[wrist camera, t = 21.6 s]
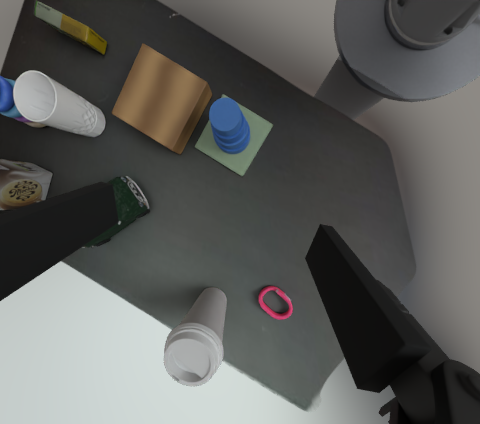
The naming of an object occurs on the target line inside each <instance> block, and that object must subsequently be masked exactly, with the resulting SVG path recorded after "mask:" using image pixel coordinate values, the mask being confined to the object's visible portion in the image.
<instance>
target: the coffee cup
mask: <svg viewBox="0 0 480 424" xmlns="http://www.w3.org/2000/svg"><path fill="white" fill-rule="evenodd" d="M226 305H227V298H226V295H225V294H224V292H223V291H222V290H220V289H218V288H215V287H210V288H207V289H205V290H204V291H203V292H202V293H201V294H200V296H199V297H198V299H197V300H196V302H195V303H194V304H193V306H192V307H191V309H190V310H189V312H188V313H187V314H186V316H185V317H184V319H183V320H182V321H181V323H180V324H179V326H177V327H175V328H174V329H173V330H172V331H171V332H170V334H169V335H168V337H167V340H166V344H165V349H164V365H165V368H166V370H167V372H168V374H169V375H170V376H171V377H172V378H173V379H174V380H176V381H177V382H178V383H180V384H183V385H186V386H199V385H202V384H204V383H206V382H207V381H209V380H210V379H211V377H212V376H213V375H214V374H215V372H216V371H217V370H218V368H219V366H220V365H221V362H222V360H223V353H224V352H223V346H222V338H223V329H224V321H225V313H226Z"/></svg>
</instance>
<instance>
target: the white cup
mask: <svg viewBox="0 0 480 424" xmlns="http://www.w3.org/2000/svg"><path fill="white" fill-rule="evenodd" d="M13 98H14V103H15V105H16V108H17V109H18V111H19V112H20V113H21V115H22V116H24V117H25V118H26V119H28V120H30V121H33V122H37V123H40V124H44V125H47V126H51V127H54V128H58V129H61V130H64V131H68V132H72V133H76V134H81V135H84V136H87V137H96V136H98V135H100V134H101V133H102V132H103V130H104V129H105V124H106V121H105V116H104V114H103V113H102V111H101V110H100V109H99V108H97V107H96V106H94V105H92V104H91V103H89V102H88V101H87V100H85V99H84V98H82V97H81V96H79V95H78V94H76V93H74V92H73V91H71V90H69V89H68V88H66V87H65V86H63V85H61V84H60V83H58V82H56V81H55V80H53V79H51V78H50V77H48V76H46V75H45V74H43V73H41V72H39V71H33V70H32V71H27V72H24V73H23V74H21V75H20V76H19V77H18V79H17V80H16V82H15V85H14V89H13Z"/></svg>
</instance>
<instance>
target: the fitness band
mask: <svg viewBox="0 0 480 424" xmlns="http://www.w3.org/2000/svg"><path fill="white" fill-rule="evenodd" d="M269 290H274V291H276V293H277V294H279V295H280V296H281V297H282V298H283V299H284V300H285V301H286V302H287V303H288V305H289V309H288V311H287V312H285V313H283V314H278V313H275V312H274V311H272V310H271V309H270V308H269V307H268V306H267V305H266V304H265V303H264V302H263V300H262V297H263V295H264V294H265V293H266V292H267V291H269ZM259 304H260V306H261V307H262V308H263V309H264V310H265V311H266V312H267V313H268V314H269V315H270V316H272V317H273V318H275V319H279V320H282V319H286V318H288V317H289V316H290V315H291V313H292V311H293V307H292V303H291V299H290V298H289V297H288V296H287V295H286V294H285V293H284V292H283V291H282V290H280V289H279V288H277V287H275V286H267V287H265V288H264V289H262V290H261V292H260V294H259Z"/></svg>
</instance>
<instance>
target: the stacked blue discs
mask: <svg viewBox="0 0 480 424" xmlns="http://www.w3.org/2000/svg"><path fill="white" fill-rule="evenodd" d="M209 119H210V122H211V128H212V132H213V137H214V140H215V142H216V144H217V145H218V147H219V148H220V149H221V150H222V151H223V152H225V153H227V154H238V153H240V152H242V151H243V150H244V149H245V148H246V147H247V146H248V144H249V141H250V127H249V124H248V122H247V120H246V118H245V117H244V115H243V113H242V111H241V110H240V108H239V106H238V104H237V103H236V102H235V101H234V100H233V99H230V98H220V99H218V100H216V101H215V102H214V103H213V104H212V106H211V108H210V111H209Z"/></svg>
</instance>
